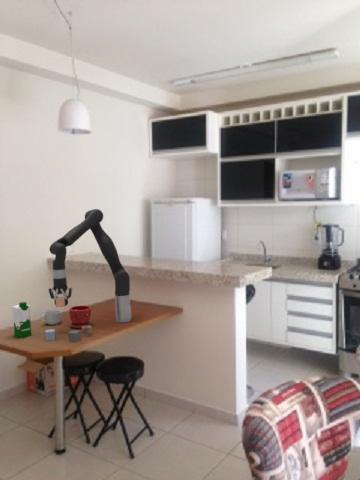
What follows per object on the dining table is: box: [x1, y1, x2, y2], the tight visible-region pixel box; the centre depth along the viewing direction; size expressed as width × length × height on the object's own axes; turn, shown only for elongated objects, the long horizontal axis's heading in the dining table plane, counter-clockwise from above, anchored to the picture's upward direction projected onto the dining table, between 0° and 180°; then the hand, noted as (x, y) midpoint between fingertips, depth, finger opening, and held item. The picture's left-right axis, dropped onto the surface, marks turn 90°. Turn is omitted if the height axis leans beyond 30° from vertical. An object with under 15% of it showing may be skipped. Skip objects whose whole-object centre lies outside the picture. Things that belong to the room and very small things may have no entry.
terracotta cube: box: [55, 296, 67, 308], centre depth 252 cm, size 5×5×5 cm
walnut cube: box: [81, 324, 93, 338], centre depth 248 cm, size 5×5×5 cm
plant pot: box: [68, 305, 92, 329], centre depth 266 cm, size 13×13×12 cm
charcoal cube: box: [67, 329, 82, 343], centre depth 240 cm, size 5×5×5 cm
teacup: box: [40, 309, 63, 326], centre depth 274 cm, size 14×11×8 cm
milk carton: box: [11, 301, 33, 339], centre depth 250 cm, size 9×9×20 cm
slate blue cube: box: [45, 328, 56, 342], centre depth 243 cm, size 5×5×5 cm
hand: (61, 305), depth 252 cm, fingers closed on terracotta cube, 5 cm apart
